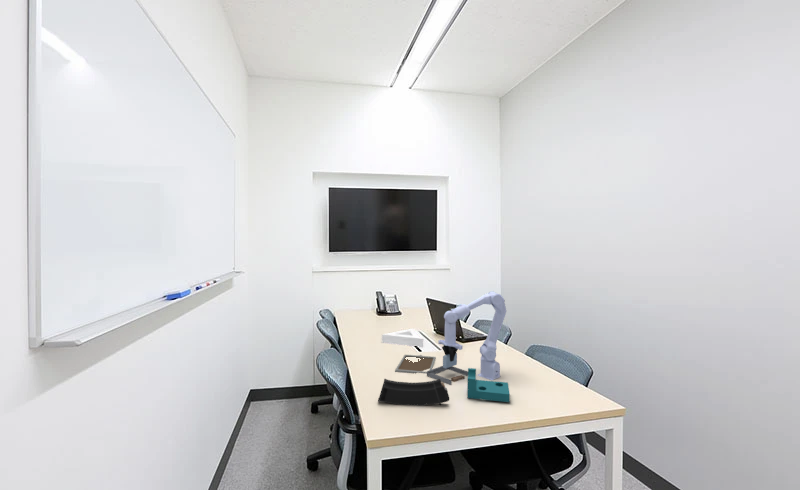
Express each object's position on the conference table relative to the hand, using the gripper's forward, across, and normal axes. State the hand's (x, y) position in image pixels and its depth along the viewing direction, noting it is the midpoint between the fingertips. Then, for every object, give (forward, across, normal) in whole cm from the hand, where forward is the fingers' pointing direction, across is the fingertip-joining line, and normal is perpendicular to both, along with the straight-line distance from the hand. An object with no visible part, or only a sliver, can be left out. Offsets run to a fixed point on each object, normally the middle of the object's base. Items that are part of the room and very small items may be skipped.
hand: (449, 360), depth 186 cm
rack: (+8, 0, -1) cm, 8 cm away
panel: (+3, 0, 0) cm, 3 cm away
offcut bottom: (+9, +6, -1) cm, 11 cm away
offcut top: (+8, +6, -1) cm, 10 cm away
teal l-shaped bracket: (+9, +27, -6) cm, 29 cm away
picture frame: (+9, -25, +1) cm, 27 cm away
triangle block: (+9, -58, +28) cm, 65 cm away
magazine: (+9, +10, -36) cm, 39 cm away
